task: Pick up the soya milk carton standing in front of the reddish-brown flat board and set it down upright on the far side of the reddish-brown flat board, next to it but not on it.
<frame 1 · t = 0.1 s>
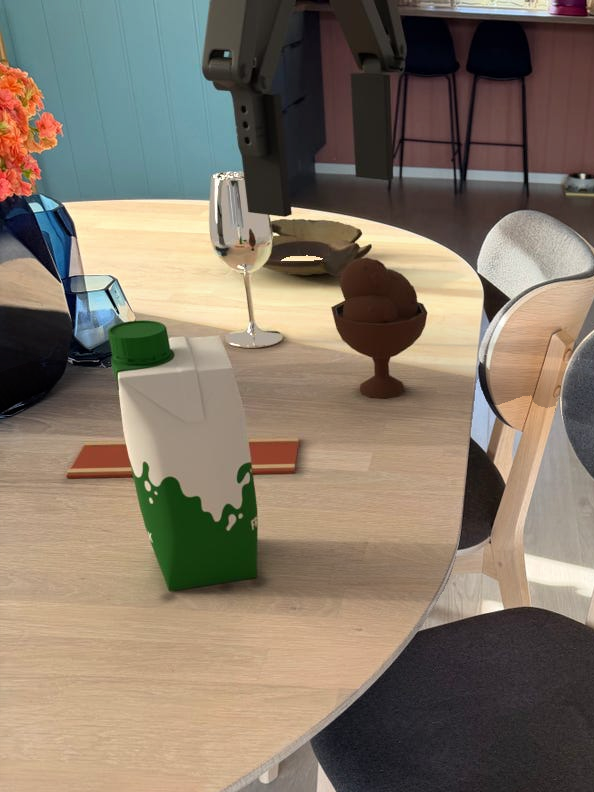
hand: (326, 194, 63), 29 cm above the table, tool pointing down, fingers open, 13 cm apart
wineglass: (254, 340, 125), on the table
ice cream bowl: (382, 391, 111), on the table
soya milk: (210, 565, 79), on the table
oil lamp: (305, 274, 152), on the table
reddish-brown flat board: (188, 458, 95), on the table
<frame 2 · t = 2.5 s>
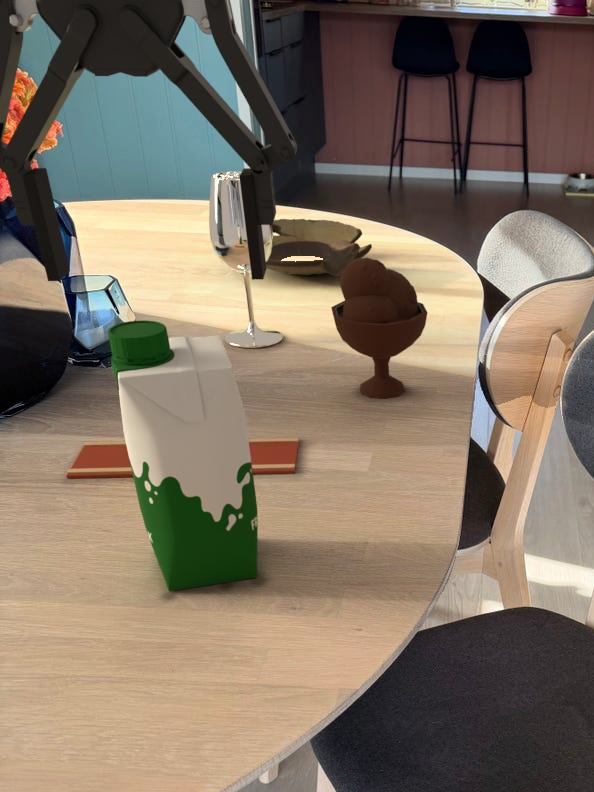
hand: (160, 275, 65), 24 cm above the table, tool pointing down, fingers open, 13 cm apart
nothing on the table moved.
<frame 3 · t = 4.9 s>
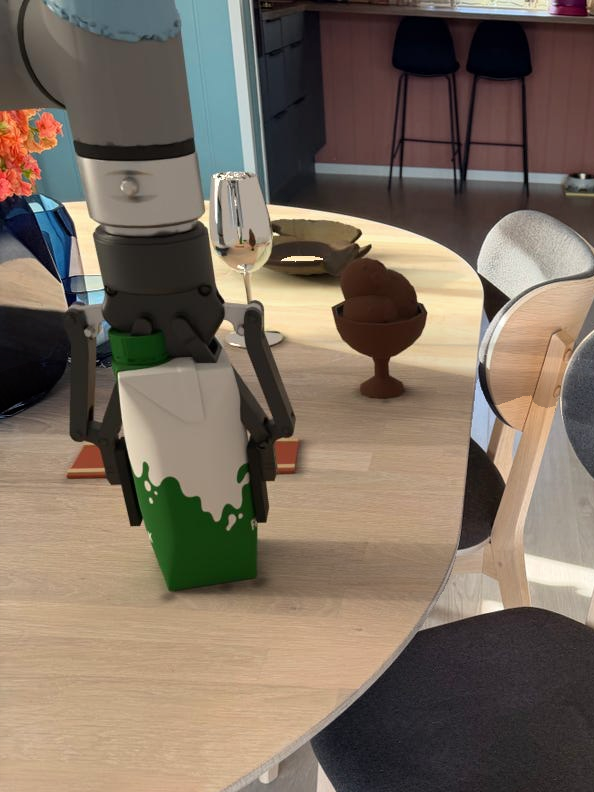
hand: (201, 516, 76), 5 cm above the table, tool pointing down, fingers closed on soya milk, 9 cm apart
soya milk: (209, 565, 79), on the table, touching gripper
everything else where it was.
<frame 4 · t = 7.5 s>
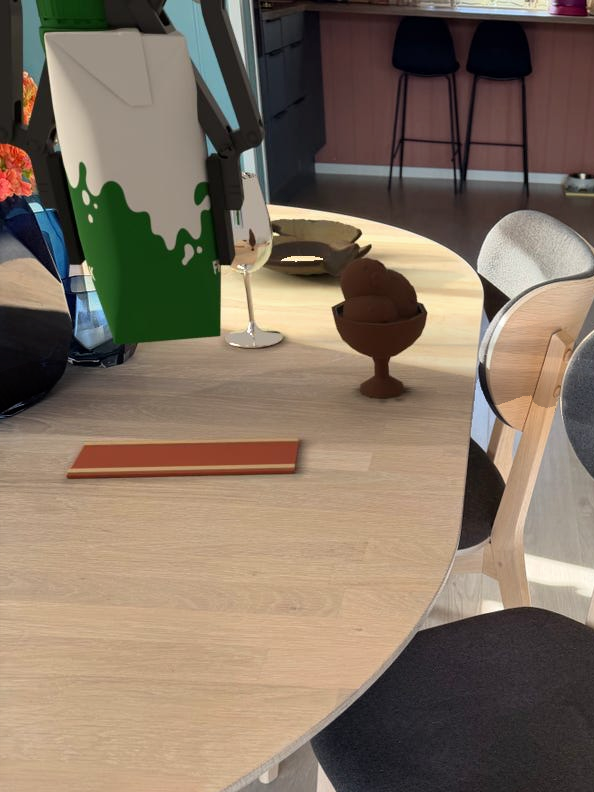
hand: (154, 259, 64), 25 cm above the table, tool pointing down, fingers closed on soya milk, 9 cm apart
soya milk: (166, 328, 67), point 20 cm above the table, touching gripper
everything else where it was.
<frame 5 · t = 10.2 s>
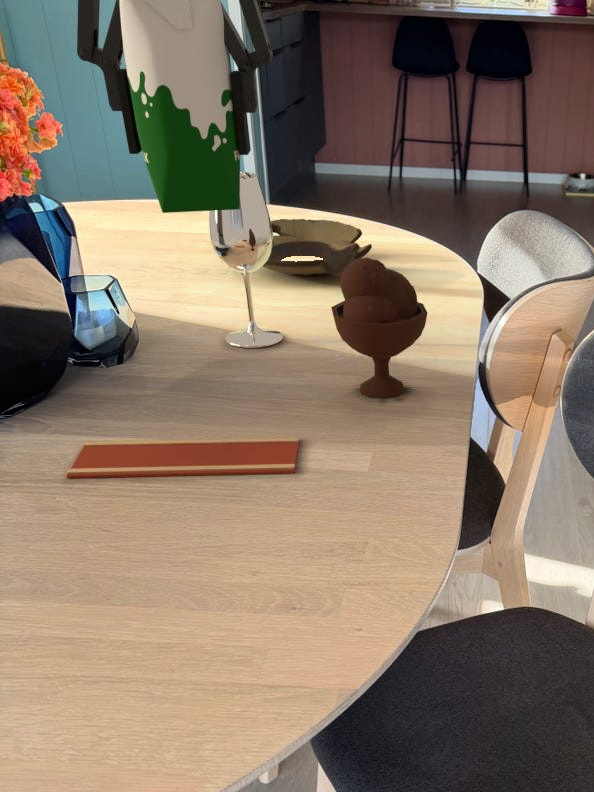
hand: (191, 151, 87), 27 cm above the table, tool pointing down, fingers closed on soya milk, 9 cm apart
soya milk: (199, 206, 90), point 22 cm above the table, touching gripper
everything else where it was.
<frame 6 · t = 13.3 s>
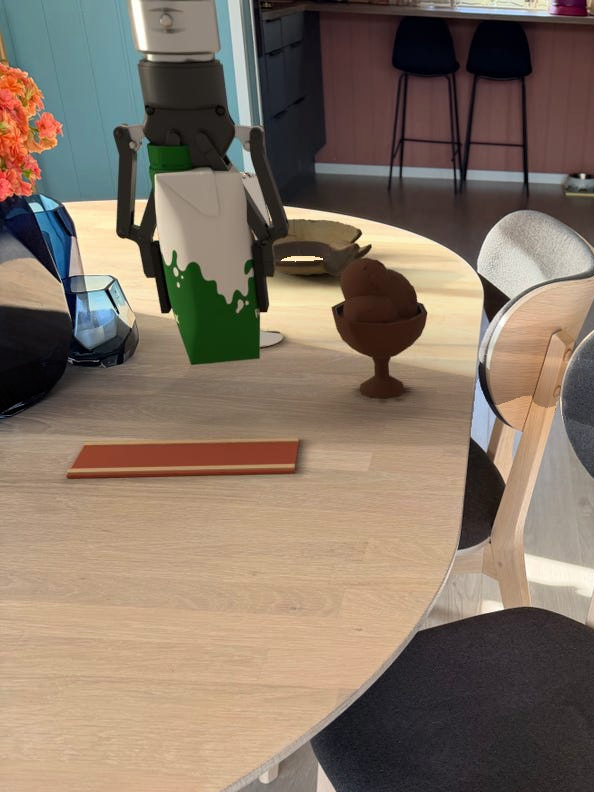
hand: (216, 309, 97), 12 cm above the table, tool pointing down, fingers closed on soya milk, 9 cm apart
soya milk: (222, 353, 100), point 7 cm above the table, touching gripper
everything else where it was.
when the fingers open (4 cm above the table, at t = 15.5 s): soya milk stays where it is, on the table.
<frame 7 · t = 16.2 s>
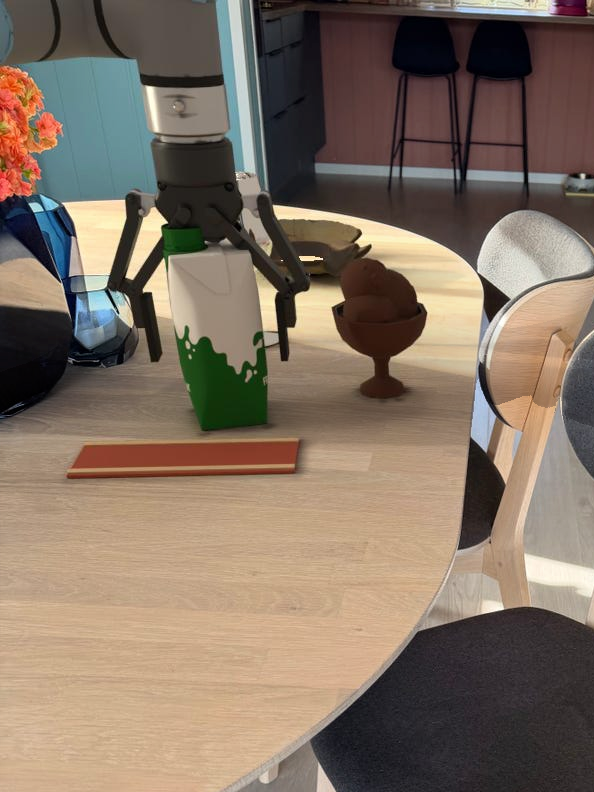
hand: (221, 357, 100), 7 cm above the table, tool pointing down, fingers open, 13 cm apart
soya milk: (231, 417, 104), on the table
everything else where it was.
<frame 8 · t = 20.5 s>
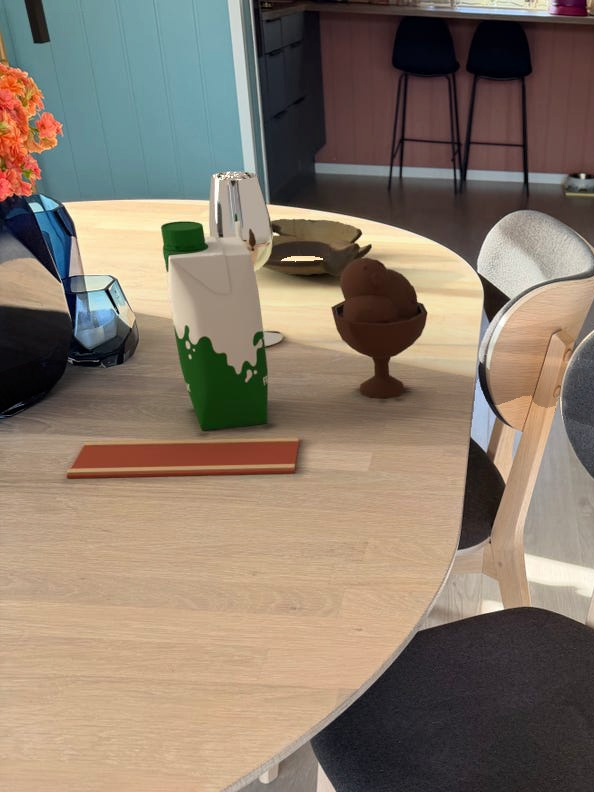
nothing on the table moved.
at the end: soya milk inside the target area on the table beside the reddish-brown flat board (1.6 cm from its centre), on the table; soya milk tilted 0°; soya milk touching table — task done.
